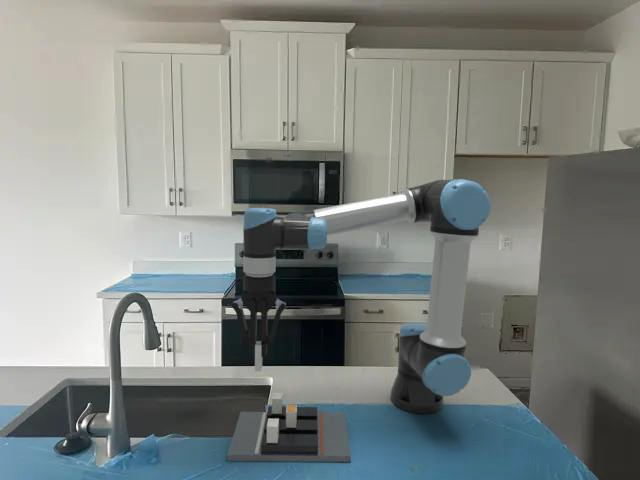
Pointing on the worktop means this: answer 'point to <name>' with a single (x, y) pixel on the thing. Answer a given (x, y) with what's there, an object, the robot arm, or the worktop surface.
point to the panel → (251, 435)
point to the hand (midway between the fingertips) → (258, 368)
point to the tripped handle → (291, 416)
